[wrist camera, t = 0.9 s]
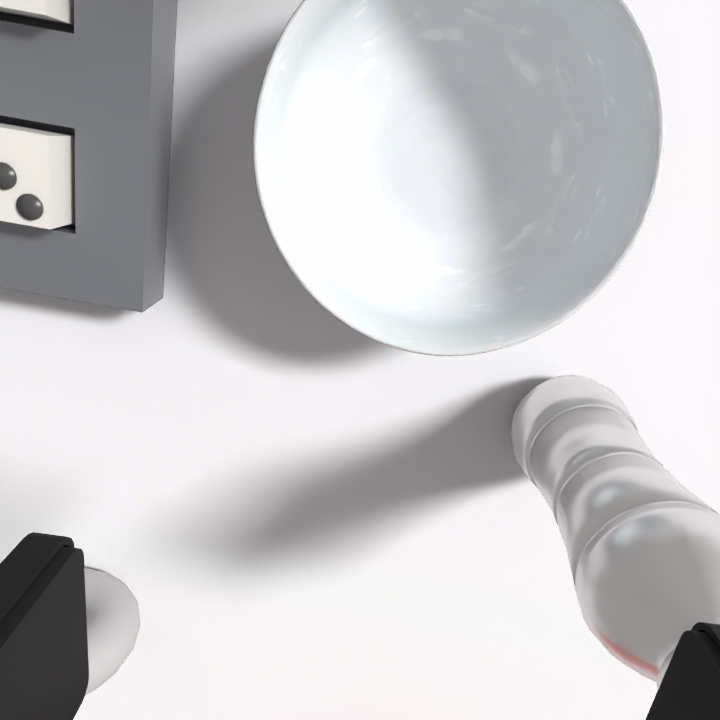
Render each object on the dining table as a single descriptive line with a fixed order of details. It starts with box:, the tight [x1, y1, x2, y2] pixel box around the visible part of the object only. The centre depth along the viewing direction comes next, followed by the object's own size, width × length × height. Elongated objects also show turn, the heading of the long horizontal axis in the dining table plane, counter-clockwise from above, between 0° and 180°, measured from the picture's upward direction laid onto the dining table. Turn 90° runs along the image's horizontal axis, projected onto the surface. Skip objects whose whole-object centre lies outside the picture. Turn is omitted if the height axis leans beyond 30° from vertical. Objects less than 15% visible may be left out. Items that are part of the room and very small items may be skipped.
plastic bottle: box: [512, 375, 720, 689], centre depth 26 cm, size 6×7×20 cm
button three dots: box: [0, 123, 75, 229], centre depth 28 cm, size 4×4×2 cm
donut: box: [84, 568, 140, 695], centre depth 36 cm, size 10×4×10 cm, turn 83°
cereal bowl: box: [253, 0, 665, 356], centre depth 27 cm, size 17×17×7 cm
